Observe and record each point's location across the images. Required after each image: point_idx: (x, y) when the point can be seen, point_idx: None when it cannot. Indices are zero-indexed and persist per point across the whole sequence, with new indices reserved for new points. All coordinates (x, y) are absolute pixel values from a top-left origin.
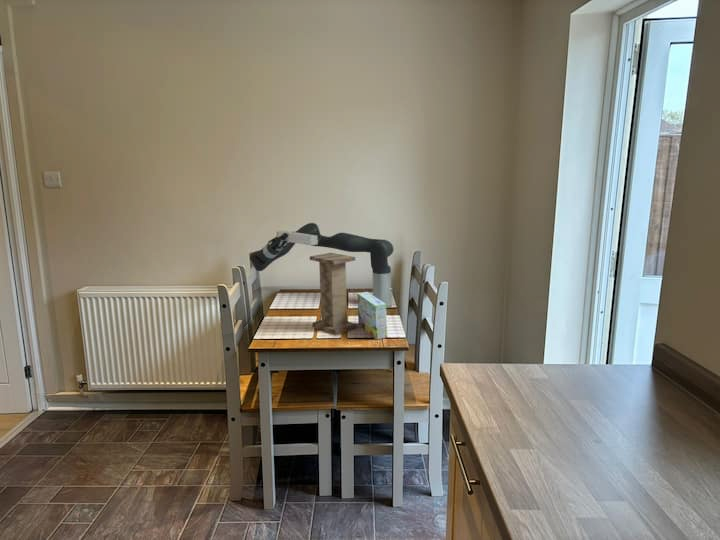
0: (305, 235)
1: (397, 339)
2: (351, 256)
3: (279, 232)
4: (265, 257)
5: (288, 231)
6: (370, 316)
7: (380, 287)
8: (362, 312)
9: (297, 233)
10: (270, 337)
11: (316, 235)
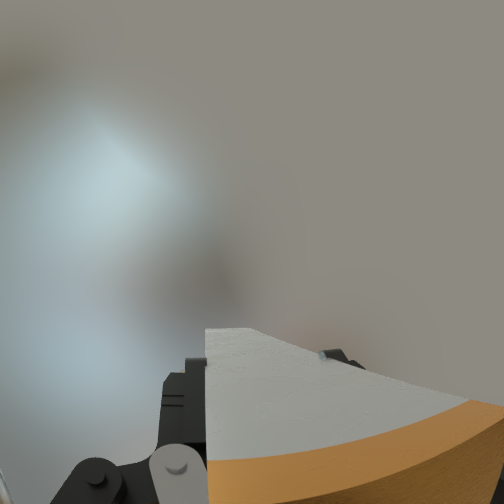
0: (248, 331)
1: None
2: (182, 372)
3: (416, 396)
4: None
5: (218, 386)
6: None
7: (8, 491)
8: None
9: (237, 343)
10: None
11: (207, 329)
